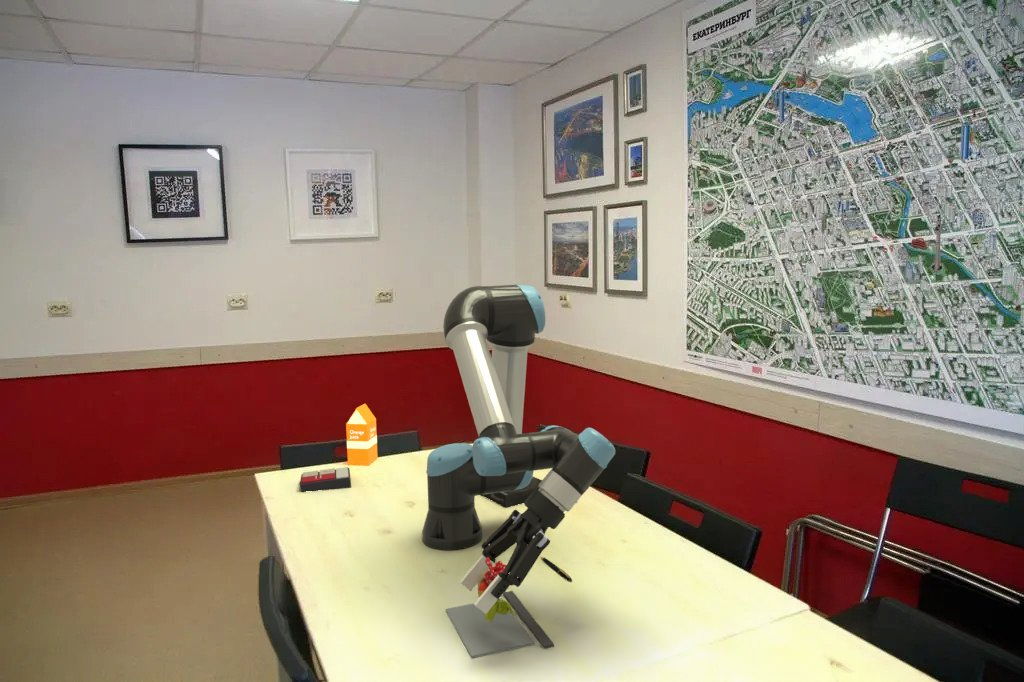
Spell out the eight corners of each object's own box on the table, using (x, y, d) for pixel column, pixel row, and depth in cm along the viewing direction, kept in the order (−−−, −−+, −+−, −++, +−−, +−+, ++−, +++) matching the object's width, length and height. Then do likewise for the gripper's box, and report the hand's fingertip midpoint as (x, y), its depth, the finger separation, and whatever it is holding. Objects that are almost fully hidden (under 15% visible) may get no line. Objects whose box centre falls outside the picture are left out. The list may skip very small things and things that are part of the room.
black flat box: (553, 497, 207) (553, 484, 207) (505, 509, 198) (505, 495, 197) (522, 482, 221) (521, 470, 220) (475, 493, 211) (475, 481, 211)
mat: (443, 606, 142) (443, 603, 142) (512, 592, 148) (512, 590, 148) (475, 664, 122) (474, 661, 122) (553, 646, 127) (553, 643, 127)
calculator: (301, 471, 224) (349, 465, 228) (302, 484, 224) (350, 477, 228) (299, 482, 213) (350, 475, 217) (301, 495, 214) (351, 488, 217)
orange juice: (347, 465, 241) (344, 408, 239) (357, 457, 250) (354, 402, 248) (369, 465, 240) (366, 408, 238) (378, 458, 249) (376, 403, 246)
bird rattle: (469, 625, 129) (492, 625, 122) (457, 563, 132) (478, 560, 125) (498, 615, 133) (522, 615, 125) (485, 555, 135) (508, 552, 128)
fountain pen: (538, 559, 165) (538, 553, 164) (542, 558, 165) (542, 552, 165) (569, 584, 152) (569, 577, 152) (574, 583, 152) (574, 576, 152)
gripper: (590, 532, 123) (506, 637, 119) (543, 495, 142) (469, 584, 139) (562, 507, 120) (475, 613, 117) (518, 473, 140) (443, 562, 136)
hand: (472, 597), depth 128 cm, fingers closed on bird rattle, 8 cm apart
